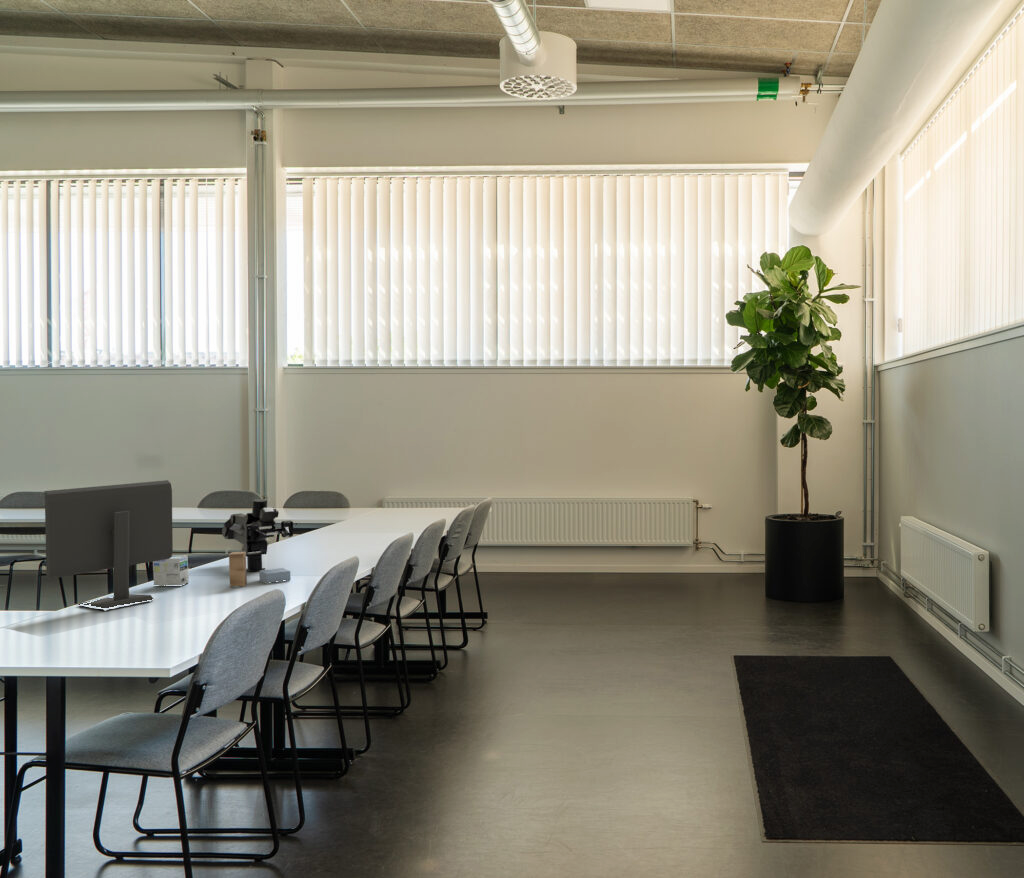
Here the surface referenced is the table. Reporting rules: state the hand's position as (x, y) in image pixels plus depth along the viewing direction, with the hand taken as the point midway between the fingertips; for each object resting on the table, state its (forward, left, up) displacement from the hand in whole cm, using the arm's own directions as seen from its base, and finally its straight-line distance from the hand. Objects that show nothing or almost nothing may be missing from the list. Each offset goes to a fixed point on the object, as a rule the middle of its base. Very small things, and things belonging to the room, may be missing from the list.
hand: (277, 535), depth 342 cm
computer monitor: (0, -60, -17) cm, 62 cm away
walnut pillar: (+1, -17, -17) cm, 24 cm away
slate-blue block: (+2, -3, -17) cm, 17 cm away
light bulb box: (-19, -34, -17) cm, 42 cm away
